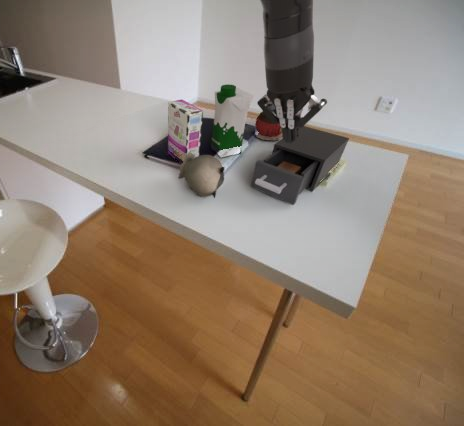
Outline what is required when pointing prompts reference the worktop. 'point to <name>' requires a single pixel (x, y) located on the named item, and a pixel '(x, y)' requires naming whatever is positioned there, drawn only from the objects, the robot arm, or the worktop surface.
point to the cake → (267, 128)
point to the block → (290, 167)
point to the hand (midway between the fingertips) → (290, 140)
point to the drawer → (284, 175)
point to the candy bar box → (184, 128)
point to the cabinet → (316, 150)
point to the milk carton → (230, 116)
